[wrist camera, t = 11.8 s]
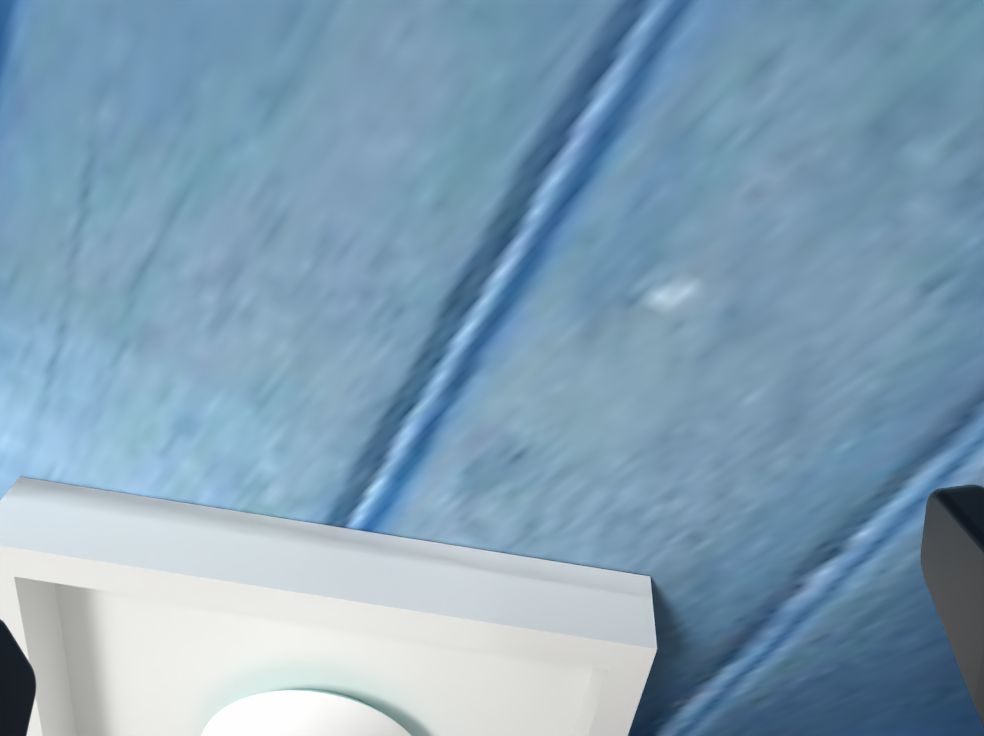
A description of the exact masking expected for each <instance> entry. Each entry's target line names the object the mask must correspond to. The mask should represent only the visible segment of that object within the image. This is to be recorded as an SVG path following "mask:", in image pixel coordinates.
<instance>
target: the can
mask: <svg viewBox="0 0 984 736" xmlns="http://www.w3.org/2000/svg"><path fill="white" fill-rule="evenodd" d="M201 736H411V735H410V734H409V733H408V732H407V731H406V730H405V729H404V728H403V727H402V726H400V725H399V724H398V723H397V722H396V721H394V720H393V719H391V718H390V717H389V716H387V715H385V714H384V713H382V712H380V711H379V710H377V709H375V708H374V707H372V706H370V705H368V704H366V703H364V702H362V701H360V700H357V699H355V698H352V697H349V696H347V695H343V694H340V693H336V692H331V691H325V690H317V689H291V690H278V691H271V692H266V693H261V694H257V695H253V696H250V697H246V698H243V699H241V700H238V701H236V702H234V703H232V704H230V705H228V706H226V707H225V708H224V709H222V710H221V711H219V712H218V713H217V714H216V715H215V716H214V717H213V718H212V719H211V720H210V721H209V722H208V724H207V725H206V727H205V728H204V730H203V733H202V735H201Z"/></svg>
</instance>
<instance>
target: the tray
mask: <svg viewBox="0 0 984 736" xmlns="http://www.w3.org/2000/svg"><path fill="white" fill-rule="evenodd" d="M0 619H1V620H2V621H3V622H4V623H5V624H6V625H7V627H8V629H9V630H10V632H11V633H12V635H13V637H14V638H15V640H16V641H17V643H18V645H19V646H20V648H21V650H22V651H23V653H24V654H25V656H26V658H27V659H28V661H29V662H30V664H31V666H32V668H33V670H34V673H35V677H36V695H35V700H34V704H33V709H32V713H31V718H30V722H29V727H28V731H27V736H201V735H202V733H203V730H204V728H205V727H206V725H207V724H208V722H209V721H210V720H211V719H212V718H213V717H214V716H215V715H216V714H217V713H218V712H219V711H221V710H222V709H224V708H225V707H226V706H228V705H230V704H232V703H234V702H236V701H238V700H241V699H243V698H246V697H250V696H253V695H257V694H261V693H266V692H271V691H278V690H291V689H317V690H325V691H331V692H336V693H340V694H343V695H347V696H349V697H352V698H355V699H357V700H360V701H362V702H364V703H366V704H368V705H370V706H372V707H374V708H375V709H377V710H379V711H380V712H382V713H384V714H385V715H387V716H389V717H390V718H391V719H393V720H394V721H396V722H397V723H398V724H399V725H400V726H402V727H403V728H404V729H405V730H406V731H407V732H408V733H409V734H410V735H411V736H628V733H629V730H630V727H631V724H632V721H633V718H634V716H635V713H636V710H637V707H638V704H639V701H640V698H641V695H642V692H643V689H644V686H645V683H646V681H647V678H648V675H649V672H650V669H651V666H652V663H653V660H654V657H655V654H656V651H657V641H656V631H655V621H654V611H653V600H652V590H651V580H650V576H644V575H637V574H631V573H625V572H619V571H612V570H606V569H600V568H593V567H587V566H581V565H574V564H568V563H562V562H555V561H549V560H543V559H536V558H530V557H524V556H517V555H511V554H505V553H499V552H492V551H486V550H480V549H473V548H467V547H461V546H454V545H448V544H442V543H435V542H429V541H423V540H416V539H410V538H404V537H397V536H391V535H385V534H378V533H372V532H366V531H360V530H353V529H347V528H341V527H334V526H328V525H322V524H315V523H309V522H303V521H296V520H290V519H284V518H277V517H271V516H265V515H258V514H252V513H246V512H240V511H233V510H227V509H221V508H214V507H208V506H202V505H195V504H189V503H183V502H176V501H170V500H164V499H157V498H151V497H145V496H138V495H132V494H126V493H119V492H113V491H107V490H101V489H94V488H88V487H82V486H75V485H69V484H63V483H56V482H50V481H44V480H37V479H31V478H25V477H19V478H18V480H17V481H16V482H15V483H14V485H13V486H12V487H11V488H10V490H9V491H8V492H7V493H6V494H5V496H4V497H3V498H2V499H1V501H0Z"/></svg>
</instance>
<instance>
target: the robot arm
mask: <svg viewBox="0 0 984 736" xmlns="http://www.w3.org/2000/svg"><path fill="white" fill-rule="evenodd" d="M921 565H922V571H923V575H924V578H925V581H926V584H927V586H928V589H929V591H930V594H931V596H932V599H933V601H934V604H935V607H936V609H937V612H938V614H939V617H940V619H941V622H942V624H943V627H944V629H945V632H946V634H947V637H948V640H949V642H950V645H951V647H952V650H953V652H954V655H955V657H956V660H957V662H958V665H959V668H960V670H961V673H962V675H963V678H964V680H965V683H966V685H967V688H968V690H969V693H970V695H971V698H972V701H973V703H974V706H975V708H976V710H977V713H978V715H979V717H980V720H981V722H982V724H983V727H984V488H983V487H981V486H978V485H964V486H956V487H949V488H941V489H937V490H935V491H933V492H932V493H931V494H930V496H929V498H928V501H927V506H926V515H925V523H924V531H923V539H922V548H921ZM35 695H36V677H35V673H34V670H33V668H32V666H31V664H30V662H29V661H28V659H27V658H26V656H25V654H24V653H23V651H22V650H21V648H20V646H19V645H18V643H17V641H16V640H15V638H14V637H13V635H12V633H11V632H10V630H9V629H8V627H7V625H6V624H5V623H4V622H3V621H2V620H1V619H0V736H27V731H28V727H29V722H30V718H31V713H32V709H33V704H34V700H35Z"/></svg>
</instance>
